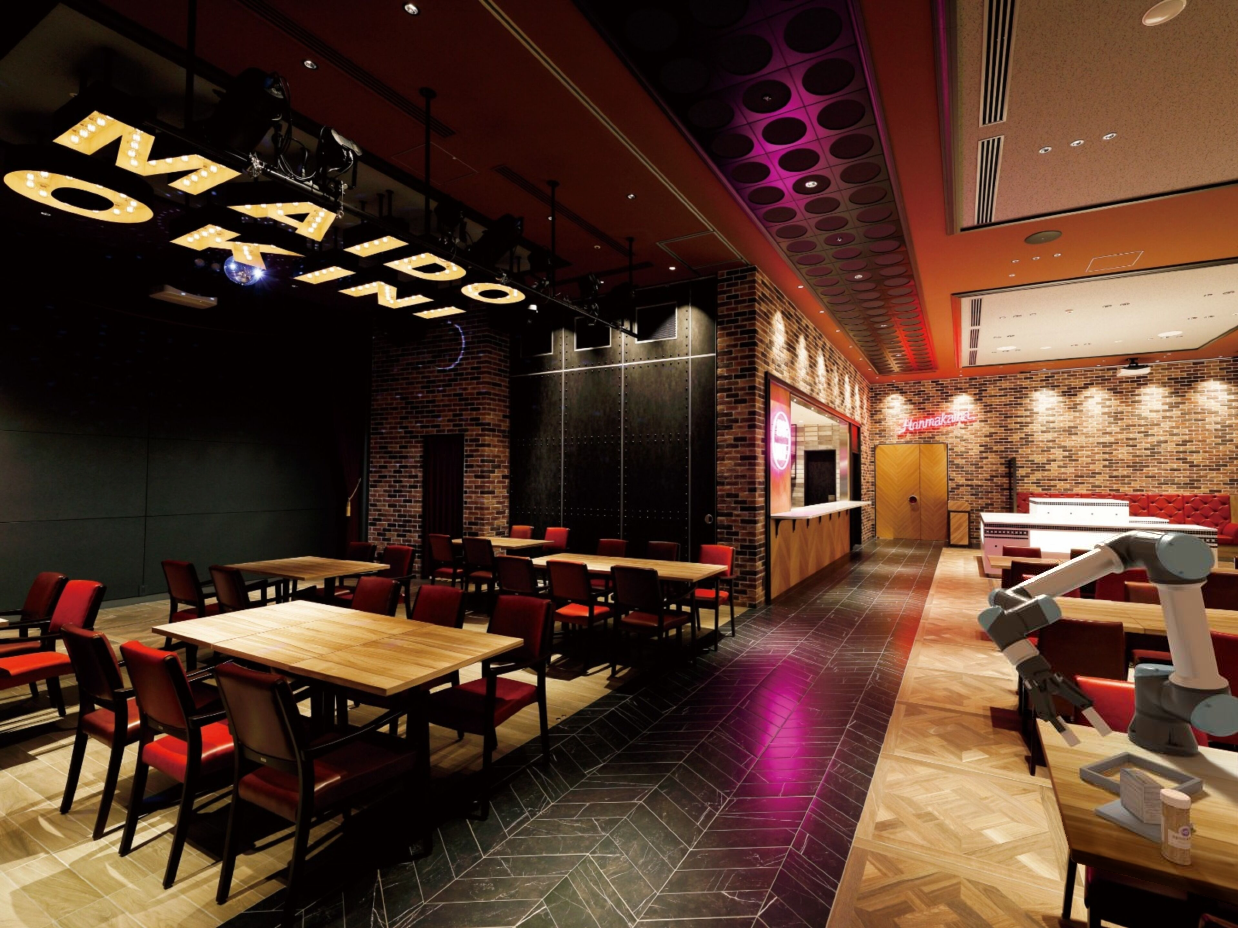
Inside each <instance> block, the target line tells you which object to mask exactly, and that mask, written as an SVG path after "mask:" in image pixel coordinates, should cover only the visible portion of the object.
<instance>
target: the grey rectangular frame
mask: <svg viewBox="0 0 1238 928" xmlns="http://www.w3.org/2000/svg"><path fill="white" fill-rule="evenodd" d="M1126 763H1127V764H1130V765H1133V766H1136V767H1139V768H1141V769H1143V770H1146V771H1149V770H1150V771H1149V772H1151V771H1152V773H1154V774H1157V775H1159V774H1160V775H1159V776H1162V777H1165V778H1167V777H1168V779H1171V780H1173V781H1175V782H1178V783H1180V784H1179V785H1176V786H1174V787H1172V788H1170V789H1172V790H1176V791H1179V792H1181V793H1184V794H1186V795H1187V796H1188V797H1190V796H1191V795H1193V794H1196V793H1198V792H1200V791H1202V790H1204V786H1203V785H1204V780H1203V779H1202V778H1200V777H1198V776H1197V777H1196V776H1194V775H1191V774H1188V773H1186V772H1183V771H1181V770H1178V769H1175V768H1172V767H1170V766H1166V765H1165V764H1161V763H1159V762H1155V761H1153V760H1150V759H1148V758H1145V757H1142V756H1141V755H1140V756H1139V755H1137V754H1134V753H1131V752H1129V751H1123V752H1121V753H1117V754H1114V755H1112V756H1109V757H1106V758H1104V759H1101V760H1097V761H1095V762H1092V763H1089V764H1086V765H1083V766H1081V767H1079V771H1078V772H1079V778H1081V779H1083V780H1085V781H1088V782H1090V783H1091V784H1092V783H1093V784H1094V785H1096V786H1099V787H1101V788H1103V789H1106V790H1108V789H1109V790H1108V791H1110V792H1113V791H1114V792H1113V793H1115V792H1116V794H1118V795H1120V781H1116V780H1115V779H1113V778H1110V777H1107V776H1105V775H1102V774H1101V773H1104V771H1105V772H1107V770H1108V771H1110V770H1112V768H1113V769H1115V768H1114V767H1116V768H1118V766H1119V767H1121V766H1124V765H1127V764H1126ZM1109 769H1110V770H1109Z"/></svg>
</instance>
